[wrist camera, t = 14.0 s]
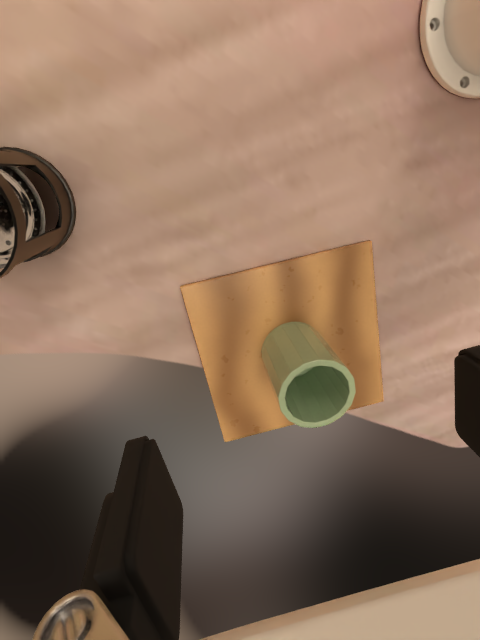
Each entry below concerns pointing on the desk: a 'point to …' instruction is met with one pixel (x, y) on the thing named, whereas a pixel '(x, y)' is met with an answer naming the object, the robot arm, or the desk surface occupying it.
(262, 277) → the mat
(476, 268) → the desk surface
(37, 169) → the french press
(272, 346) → the pot
